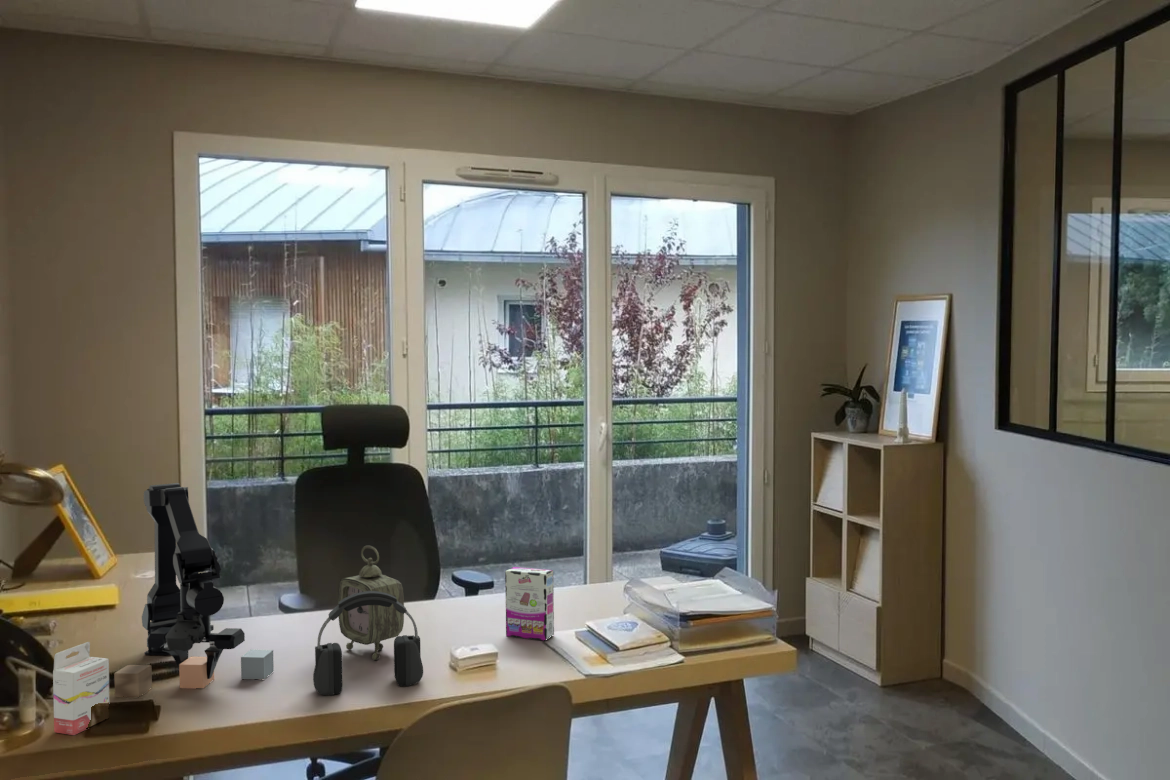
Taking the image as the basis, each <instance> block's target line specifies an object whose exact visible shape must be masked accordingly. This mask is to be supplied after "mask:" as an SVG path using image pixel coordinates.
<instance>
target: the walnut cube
mask: <svg viewBox="0 0 1170 780" xmlns="http://www.w3.org/2000/svg"><path fill="white" fill-rule="evenodd" d="M152 670H153V669H152V664H151V665H150V664H126V665H125V666H124V667H122V668H121V669H119V670H117V671H116V672H114V676H113V677H114V680H113V681H114V697H115V698H133V697H139V696H140V697H142V696H143V695H145V694H147V693H148V692H149V691H150V690H149V689H150V688H152V689H153V680H152V679H153V677H152ZM148 690H149V691H148ZM147 691H148V692H147ZM144 693H145V694H144ZM142 694H143V695H142ZM141 695H142V696H141ZM123 696H124V697H123ZM140 697H139V698H140Z"/></svg>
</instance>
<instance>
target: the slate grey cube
mask: <svg viewBox="0 0 1170 780" xmlns="http://www.w3.org/2000/svg"><path fill="white" fill-rule="evenodd" d="M274 667H275V665H274V649H253V648H251V649H250V650H248V651H247V652H246V653H244V654H243V655H241V656H240V673H241V675H240V677H241V679H265V678H266V677H267V676H268V675H270V674H271V673H272V672H273V671H275V670H274ZM273 673H274V672H273ZM273 673H272V674H273ZM272 674H271V675H272ZM271 675H270V676H271ZM268 677H269V676H268ZM268 677H267V678H268ZM267 678H266V679H267ZM241 679H240V680H241ZM266 679H265V680H266Z"/></svg>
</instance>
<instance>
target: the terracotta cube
mask: <svg viewBox="0 0 1170 780" xmlns="http://www.w3.org/2000/svg"><path fill="white" fill-rule="evenodd" d="M178 670H179V672H178V673H179V689H196V688H203V689H204V688H206V687H207V686H209V685H210V684H211V683H212V682H213V681H212V680H214V681H215V671H214V672H213V675H212V677H211V678H210V679H207V656H194V655H193V656H190V657H188V659H187V660H185V661H184V662H182V663H181V664H179V669H178ZM211 681H212V682H211ZM210 682H211V683H210ZM209 683H210V684H209ZM206 685H207V686H206ZM205 686H206V687H205Z"/></svg>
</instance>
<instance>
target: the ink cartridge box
mask: <svg viewBox="0 0 1170 780" xmlns="http://www.w3.org/2000/svg"><path fill="white" fill-rule="evenodd" d="M90 647H91V642H90V641H87V642H84V643H81V644H78V645H75V646H73V647H69V648H67V649H64V650H61V651H59V652H56V653H55V654H54V657H53V659H54V660H53V671H52V680H53V681H52V683H53V684H52V689H53V690H52V691H53V695H52V696H53V730H54V731H53V733H58V734H63V735H64V734H65V735H69V736H77V734H81V732H83V731H86V730H87V729H86V728H87V727H88V724H89V722H90V720H91V707H92V706H94V705H95V704H98V703H103V702H109V703H110V664H109V663H110V659H109V658H104V657H97V656H90V652H91V651H90V649H91V648H90ZM77 652H78V653H77ZM72 653H77V654H76V655H73V656H70V657H67V656H69V655H71V654H72Z"/></svg>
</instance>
